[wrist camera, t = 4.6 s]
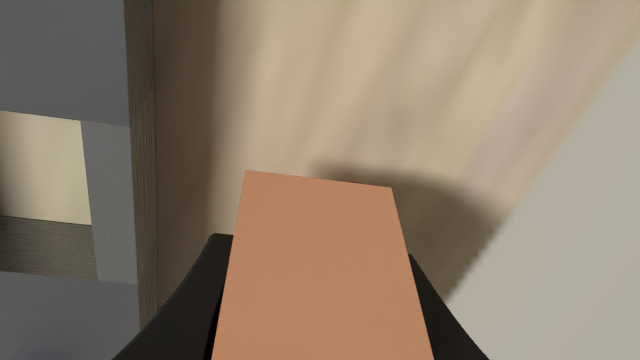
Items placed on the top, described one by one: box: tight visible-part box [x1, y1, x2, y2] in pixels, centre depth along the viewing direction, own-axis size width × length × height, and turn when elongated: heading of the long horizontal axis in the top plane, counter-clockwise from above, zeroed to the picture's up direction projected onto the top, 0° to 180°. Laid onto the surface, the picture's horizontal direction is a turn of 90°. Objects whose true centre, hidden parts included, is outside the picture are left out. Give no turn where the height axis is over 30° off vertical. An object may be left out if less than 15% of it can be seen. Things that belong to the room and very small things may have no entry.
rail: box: [0, 0, 158, 360], centre depth 15 cm, size 24×8×2 cm, turn 171°
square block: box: [211, 170, 434, 360], centre depth 12 cm, size 4×4×6 cm
